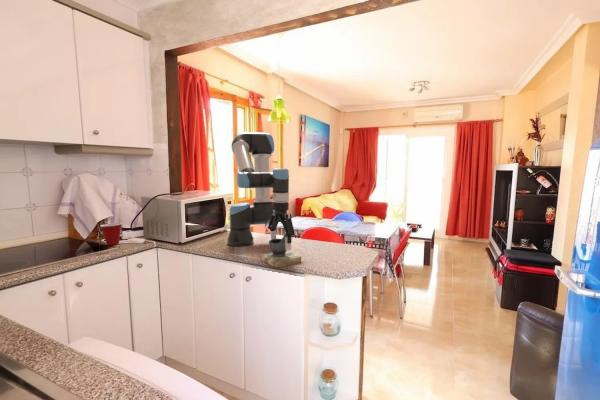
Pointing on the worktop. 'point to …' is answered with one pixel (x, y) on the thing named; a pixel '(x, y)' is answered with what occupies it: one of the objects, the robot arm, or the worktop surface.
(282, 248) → the mortar and pestle
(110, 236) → the plastic cup
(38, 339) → the worktop surface
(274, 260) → the beige flat pad
